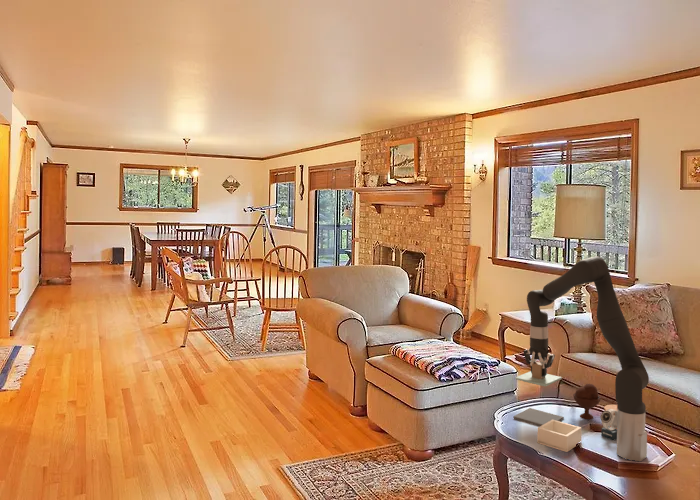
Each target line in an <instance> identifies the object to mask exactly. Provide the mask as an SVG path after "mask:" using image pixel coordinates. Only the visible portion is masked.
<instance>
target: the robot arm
mask: <svg viewBox="0 0 700 500" xmlns="http://www.w3.org/2000/svg"><path fill="white" fill-rule="evenodd" d="M591 283H593V284H594V286H595V288H596V289H595V290H596V292H597V304H596V305H597V306H596V319H597V323H598V327H599V329H600V331H601V334H602V335H603V338H604V339H605V340H606V341H607V343H608V345H610V347H611V349H613V351H614V352H615V354H616V356H617V359H618V361H619V364H620V367H621V370H619V371H618V372H617V373H616V375H615V384H614V389H615V403H616V405H618V408H617V440H616V455H617V454H618V455H619V456H621V457H623V458H622V459H624V458H626V459H625V460H627V459H630V460H629V461H632V460H635V461H636V462H640V461H641V462H642V461H644V460H645V458H646V457H647V455H648V454H647V453H648V449H647V448H648V432H647V430H646V404H645V402H644V401H643V390H644V389H645V388H646V387H647V386H648V385H649V381H650V378H649V373H648V371H647V369H646V368H645V365H644V364H643V361H642V359H641V357H640V354H639V353H638V351H637V348H636V346H635V343H634V340H633V337H632V335H631V332H630V329H629V327H628V323H627V320H626V317H625V316H624V313H623V311H622V308H621V305H620V304H619V303H620V302H619V299H618V297H617V294H616V291H615V287H614V285H613V281H612V277H611V273H610V270H609V267H608V264H607V263H606V261H605V260H604V258H602V257H601V256H591V257H586V258H583V259H580V260H579V261H577V262H576V263H575V264H574V265H573V266H572V267H570V269H568V270H567V271H566V272H565V273H564V274H562V275H560V276H558V277H557V278H555V279H554V280H552V281H550V282H548V283H545V285H544V286H543V288H542V289H534V290H530V291H529V292H528V293H527V295H526V303H527V308H528V311H529V314H530V329H529V346H530V347H529V349H527V348H526V349H523V350H522V351H523V355H524V359H525V362H526V364H527V365H529V366H530V371H531V373H532V364H533V363H535V362H538V360H539V362H540V363H541V365H542V377H545V376H546V375H547V374H548V373H547V372H548V368H551V367H552V365H553V363H554V360H555V357H556V355H555V354H554V353H550V351H549V315H548V313H547V312H545V311H542V310H541V307H546V306H547V307H548V306H549V305H551V304H553V303H554V302H555V301H556V300H557V299H559V298H561V297H562V296H564V295H566V294H567V293H569V291H570V290H571V289H573V288H574V287H577V286H581V285H584V284H591ZM547 358H548V360H547ZM618 455H617V456H618ZM619 456H618V457H619ZM621 457H620V458H621ZM635 461H634V462H635Z"/></svg>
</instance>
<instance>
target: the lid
mask: <svg viewBox="0 0 700 500" xmlns="http://www.w3.org/2000/svg"><path fill="white" fill-rule="evenodd" d="M514 379H515V380H517V381H522V382H524V383H529V384H532V385H533V384H534V385H537V386H541V387H547V386H549V385H552V384H555V383H556V382H558V381H560V380H562V379H563V378H562V376H557V375H554V374H549V373H547V375H546V376H545V377H542V365H541V363H540V361H536V362H535V363H533V364H532V373H531V370H530V371H527V372H525V373H522V374H520V375H518V376H516V377H515V378H514Z"/></svg>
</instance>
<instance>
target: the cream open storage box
mask: <svg viewBox="0 0 700 500" xmlns="http://www.w3.org/2000/svg"><path fill="white" fill-rule="evenodd" d="M536 430H537V435H536V436H537V439H536V440H537V441H536V442H537V444H540V445H543V446H547V447H549V448H553V449H557V450H559V451H562V452H566V453H567V452H569V451H571V450H572V449H574V448H575V447H577V446H576V444H577V443H578V442H580V441H581V442H582V427H581V426H578V425H573V424H570V423H566V422H563V421H556V420H551V421H549V422H547V423H545V424H544V425H542V426H538V427H537V429H536Z"/></svg>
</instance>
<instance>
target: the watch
mask: <svg viewBox="0 0 700 500" xmlns="http://www.w3.org/2000/svg"><path fill="white" fill-rule="evenodd" d="M614 413H615V417H614V419H613V414H614ZM600 421H601V422H600V423H601V424H602V426H603V427H601V429H600V432H601V437H604V438H607V439H609V440H611V441H617V429H616V427H617V411H616V410H613V409H608V410H606V411H603V412H601V414H600ZM612 421H613V423H612V426H611V427H610V423H611V422H612Z"/></svg>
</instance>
